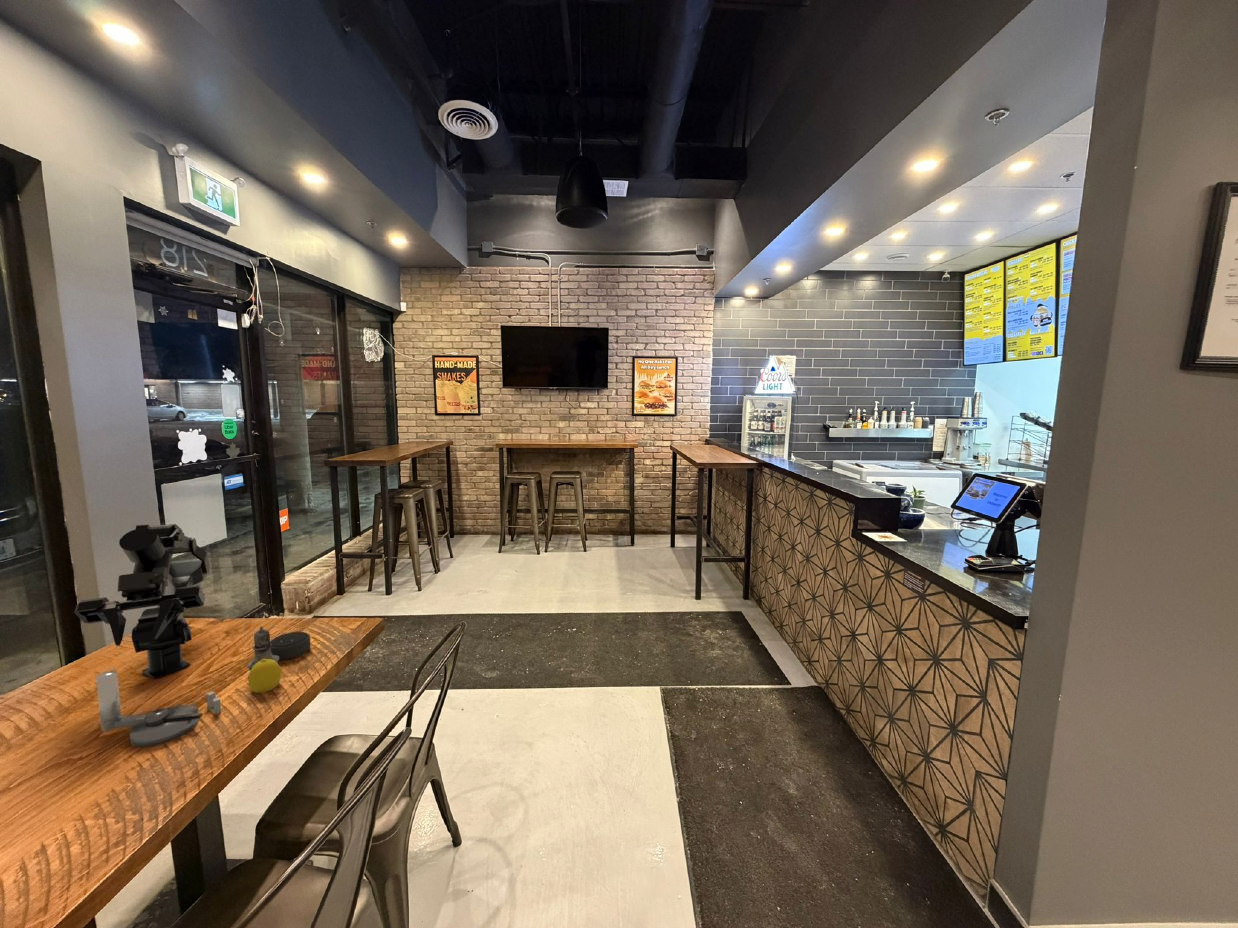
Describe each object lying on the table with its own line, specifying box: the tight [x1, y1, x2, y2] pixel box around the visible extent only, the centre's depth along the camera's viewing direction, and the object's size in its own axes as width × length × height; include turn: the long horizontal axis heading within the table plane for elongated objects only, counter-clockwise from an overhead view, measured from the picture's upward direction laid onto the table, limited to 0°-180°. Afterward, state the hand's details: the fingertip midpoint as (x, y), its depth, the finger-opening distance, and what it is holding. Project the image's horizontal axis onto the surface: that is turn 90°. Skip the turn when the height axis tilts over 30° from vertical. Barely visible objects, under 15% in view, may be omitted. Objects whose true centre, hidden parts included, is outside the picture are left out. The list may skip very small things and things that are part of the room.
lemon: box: [248, 659, 282, 694], centre depth 98 cm, size 6×6×8 cm
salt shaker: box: [247, 626, 279, 672], centre depth 105 cm, size 6×6×12 cm
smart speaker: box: [270, 631, 312, 662], centre depth 116 cm, size 9×9×4 cm
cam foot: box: [95, 669, 203, 749], centre depth 84 cm, size 13×11×12 cm
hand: (136, 641), depth 93 cm, fingers open, 5 cm apart
